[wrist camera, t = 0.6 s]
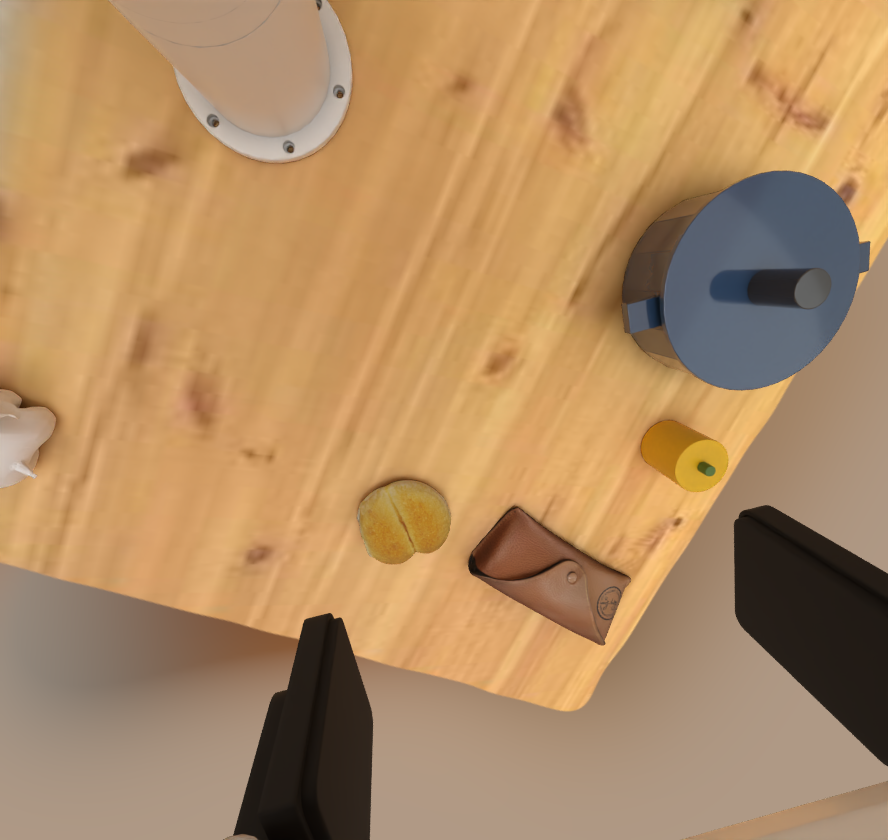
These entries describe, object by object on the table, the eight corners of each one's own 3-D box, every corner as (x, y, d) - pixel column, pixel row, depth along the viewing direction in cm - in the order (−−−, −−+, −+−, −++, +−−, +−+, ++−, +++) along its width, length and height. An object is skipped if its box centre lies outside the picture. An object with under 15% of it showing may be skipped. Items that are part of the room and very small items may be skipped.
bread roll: (457, 534, 48) (464, 556, 45) (375, 561, 48) (374, 586, 44) (435, 464, 46) (440, 481, 42) (347, 492, 46) (344, 512, 42)
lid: (645, 202, 35) (693, 188, 30) (850, 151, 36) (933, 128, 30) (664, 408, 40) (708, 429, 35) (843, 359, 41) (913, 372, 35)
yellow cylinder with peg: (638, 427, 47) (681, 453, 41) (686, 414, 48) (737, 437, 41) (643, 473, 49) (685, 504, 42) (689, 460, 49) (739, 489, 42)
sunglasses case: (637, 577, 52) (645, 637, 47) (591, 596, 57) (593, 653, 52) (512, 502, 48) (507, 559, 43) (472, 529, 52) (463, 584, 47)
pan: (583, 225, 41) (622, 215, 34) (805, 169, 42) (884, 149, 35) (605, 392, 46) (643, 411, 39) (803, 338, 47) (873, 348, 40)
